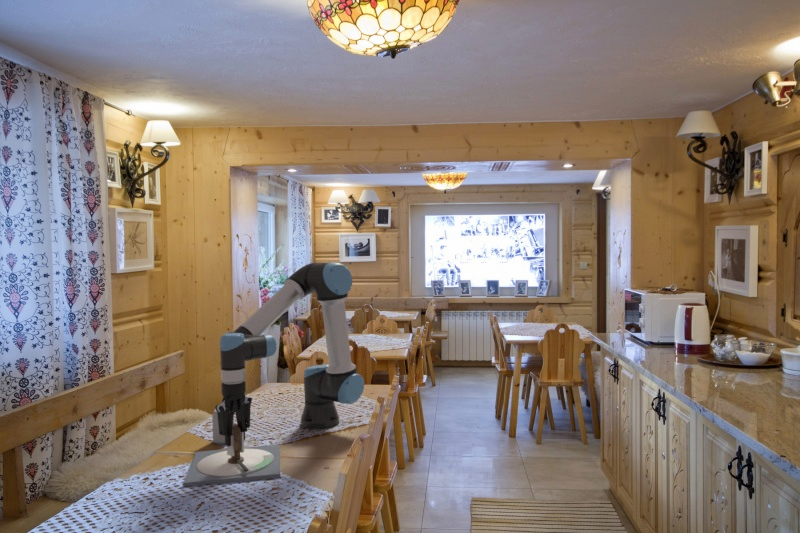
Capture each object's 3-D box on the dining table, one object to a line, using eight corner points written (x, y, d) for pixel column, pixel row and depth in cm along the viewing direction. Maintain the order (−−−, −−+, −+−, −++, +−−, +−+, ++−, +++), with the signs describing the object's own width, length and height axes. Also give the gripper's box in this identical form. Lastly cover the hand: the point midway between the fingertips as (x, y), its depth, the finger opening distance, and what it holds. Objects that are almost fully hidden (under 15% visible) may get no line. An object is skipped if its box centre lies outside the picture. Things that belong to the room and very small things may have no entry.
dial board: (279, 447, 211) (279, 443, 211) (280, 477, 184) (280, 472, 184) (196, 455, 206) (196, 450, 206) (184, 486, 178) (184, 481, 178)
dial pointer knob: (240, 456, 199) (239, 422, 198) (255, 471, 185) (254, 435, 184) (225, 459, 196) (224, 424, 196) (238, 475, 182) (237, 438, 182)
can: (228, 445, 215) (227, 412, 215) (209, 444, 217) (208, 411, 216) (238, 438, 223) (237, 406, 222) (219, 437, 224) (218, 406, 224)
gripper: (245, 375, 203) (247, 444, 204) (204, 385, 189) (207, 459, 190) (260, 377, 199) (262, 447, 199) (220, 388, 185) (223, 463, 186)
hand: (235, 453), depth 195 cm, fingers closed on dial pointer knob, 3 cm apart
